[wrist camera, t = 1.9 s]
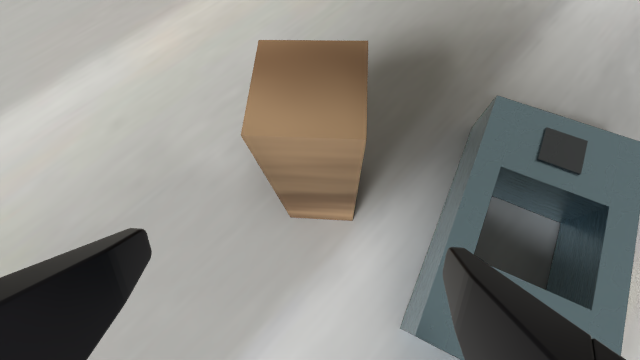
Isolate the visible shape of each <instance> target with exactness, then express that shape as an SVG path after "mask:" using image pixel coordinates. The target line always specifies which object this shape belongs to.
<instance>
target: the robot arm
mask: <svg viewBox="0 0 640 360" xmlns="http://www.w3.org/2000/svg"><path fill="white" fill-rule="evenodd" d="M150 258H151V247H150V244H149V240H148V236H147V233H146V231H145V230H144V229H137V228H129V229H126V230H124V231H121V232H118V233H116V234H113V235H111V236H108V237H105V238H103V239H100V240H98V241H95V242H92V243H90V244H87V245H85V246H82V247H79V248H77V249H74V250H71V251H69V252H66V253H64V254H61V255H58V256H56V257H53V258H51V259H48V260H45V261H43V262H40V263H37V264H35V265H32V266H30V267H27V268H24V269H22V270H19V271H17V272H14V273H11V274H9V275H6V276H4V277H1V278H0V360H87V359H88V357H89V356H90V354H91V353H92V351H93V350H94V348H95V347H96V346H97V344H98V343H99V341H100V340H101V338H102V337H103V335H104V334H105V332H106V331H107V329H108V328H109V327H110V325H111V324H112V322H113V321H114V319H115V318H116V316H117V315H118V313H119V312H120V311H121V309H122V307H123V306H124V304H125V303H126V301H127V299H128V298H129V296H130V294H131V292H132V291H133V289H134V287H135V285H136V283H137V282H138V280H139V278H140V276H141V275H142V273H143V271H144V269H145V267H146V266H147V264H148V262H149V260H150ZM443 281H444V285H445V290H446V294H447V299H448V304H449V308H450V313H451V317H452V321H453V325H454V330H455V333H456V336H457V339H458V342H459V345H460V348H461V351H462V354H463V356H464V359H465V360H626V359H624V358H623V357H621V356H620V355H618V354H617V353H615V352H614V351H612V350H611V349H609V348H608V347H607V346H605V345H604V344H602V343H601V342H599V341H598V340H597V339H595V338H593V339H592V337H591V335H589V334H588V333H586V332H585V331H583V330H582V329H581V328H579V327H578V326H576V325H575V324H573V323H572V322H570V321H569V320H568V319H566V318H565V317H563V316H562V315H560V314H559V313H558V312H556V311H555V310H553V309H552V308H550V307H549V306H547V305H546V304H545V303H543V302H542V301H540V300H539V299H537V298H536V297H534V296H533V295H532V294H530V293H529V292H527V291H526V290H524V289H523V288H521V287H520V286H519V285H517V284H516V283H514V282H513V281H511V280H510V279H509V278H507V277H506V276H504V275H503V274H501V273H500V272H498V271H497V270H496V269H494V268H493V267H491V266H490V265H488V264H487V263H485V262H484V261H483V260H481V259H480V258H478V257H477V256H475V255H474V254H472V253H471V252H470V251H468V250H467V249H465V248H461V247H450V248H448V250H447V253H446V258H445V262H444V267H443Z"/></svg>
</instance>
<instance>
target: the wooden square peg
mask: <svg viewBox="0 0 640 360" xmlns="http://www.w3.org/2000/svg"><path fill="white" fill-rule="evenodd" d="M367 75H368V41H311V40H259V41H258V47H257V52H256V57H255V63H254V68H253V73H252V79H251V84H250V89H249V95H248V100H247V105H246V111H245V116H244V121H243V127H242V132H241V136H242V138H243V140H244V141H245V143H246V145H247V146H248V148H249V150H250V151H251V153H252V154H253V156H254V158H255V159H256V161H257V163H258V164H259V166H260V168H261V169H262V171H263V173H264V174H265V176H266V177H267V179H268V181H269V182H270V184H271V186H272V187H273V189H274V191H275V192H276V194H277V196H278V197H279V199H280V201H281V202H282V204H283V205H284V207H285V209H286V210H287V212H288V214H289V215H290V217H294V218H312V219H330V220H349V221H352V220H353V214H354V209H355V203H356V197H357V191H358V185H359V180H360V174H361V168H362V162H363V156H364V151H365V145H366V134H367Z"/></svg>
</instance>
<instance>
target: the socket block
mask: <svg viewBox="0 0 640 360" xmlns="http://www.w3.org/2000/svg"><path fill="white" fill-rule="evenodd" d="M492 196H494V197H496V198H499V199H501V200H504V201H507V202H509V203H512V204H514V205H517V206H519V207H522V208H524V209H527V210H529V211H532V212H534V213H537V214H540V215H542V216H545V217H547V218H550V219H552V220H555V221H557V222H560V223H561V224H560V229H559V234H558V238H557V243H556V247H555V252H554V256H553V261H552V265H551V270H550V274H549V279H548V283H547V288H546V290H544V289H542V288H540V287H538V286H535V285H533V284H531V283H529V282H526V281H524V280H522V279H520V278H517V277H515V276H513V275H510V274H508V273H506V272H504V271H501V270H499V269H497V268H495V267H493V268H494V269H496V270H497V271H498V272H500V273H501V274H503V275H504V276H506V277H507V278H509V279H510V280H511V281H513V282H514V283H516V284H517V285H519V286H520V287H521V288H523V289H524V290H526V291H527V292H529V293H530V294H532V295H533V296H534V297H536V298H537V299H539V300H540V301H542V302H543V303H545V304H546V305H547V306H549V307H550V308H552V309H553V310H555V311H556V312H558V313H559V314H560V315H562V316H563V317H565V318H566V319H568V320H569V321H570V322H572V323H573V324H575V325H576V326H578V327H579V328H581V329H582V330H583V331H585V332H586V333H588V334H589V335H591V337H592V339H593V338H595V339H597V340H598V341H599V342H601V343H602V344H604V345H605V346H607V347H608V348H609V349H611V350H612V351H614V352H615V353H617V354H618V355H620V356H621V349H622V342H623V334H624V327H625V319H626V312H627V304H628V297H629V289H630V282H631V274H632V267H633V259H634V252H635V244H636V237H637V229H638V222H639V214H640V142H639V141H636V140H633V139H630V138H627V137H624V136H621V135H618V134H615V133H612V132H608V131H605V130H602V129H599V128H596V127H593V126H590V125H587V124H584V123H581V122H578V121H575V120H571V119H568V118H565V117H562V116H559V115H556V114H553V113H550V112H547V111H544V110H541V109H538V108H534V107H531V106H528V105H525V104H522V103H519V102H516V101H513V100H510V99H507V98H504V97H501V96H496V97H495V99H494V100H493V101H492V103H491V104H490V105H489V106H488V108H487V109H486V110H485V111H484V113H483V114H482V115H481V117H480V118H479V119H478V120H477V122H476V123H475V124H474V125H473V127H472V129H471V132H470V135H469V138H468V140H467V143H466V146H465V149H464V152H463V154H462V157H461V160H460V163H459V166H458V168H457V171H456V174H455V177H454V179H453V182H452V185H451V188H450V191H449V193H448V196H447V199H446V202H445V205H444V207H443V210H442V213H441V216H440V218H439V221H438V224H437V227H436V230H435V232H434V235H433V238H432V241H431V244H430V246H429V249H428V252H427V255H426V257H425V260H424V263H423V266H422V269H421V271H420V274H419V277H418V280H417V283H416V285H415V288H414V291H413V294H412V296H411V299H410V302H409V305H408V308H407V310H406V313H405V316H404V319H403V321H402V324H401V327H400V328H401V329H402V330H404V331H406V332H408V333H410V334H412V335H414V336H416V337H418V338H420V339H422V340H424V341H426V342H428V343H430V344H432V345H433V346H435V347H437V348H439V349H441V350H443V351H445V352H447V353H449V354H451V355H453V356H455V357H457V358H459V359H461V360H465V359H464V356H463V354H462V351H461V348H460V345H459V342H458V339H457V336H456V333H455V330H454V325H453V321H452V317H451V313H450V308H449V304H448V299H447V294H446V290H445V285H444V281H443V267H444V262H445V258H446V253H447V250H448V248H450V247H461V248H465V249H467V250H468V251H470V252H471V253H472V254H474V252H475V249H476V245H477V242H478V239H479V236H480V232H481V229H482V226H483V223H484V219H485V216H486V213H487V210H488V206H489V203H490V200H491V197H492ZM491 267H492V266H491Z"/></svg>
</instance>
